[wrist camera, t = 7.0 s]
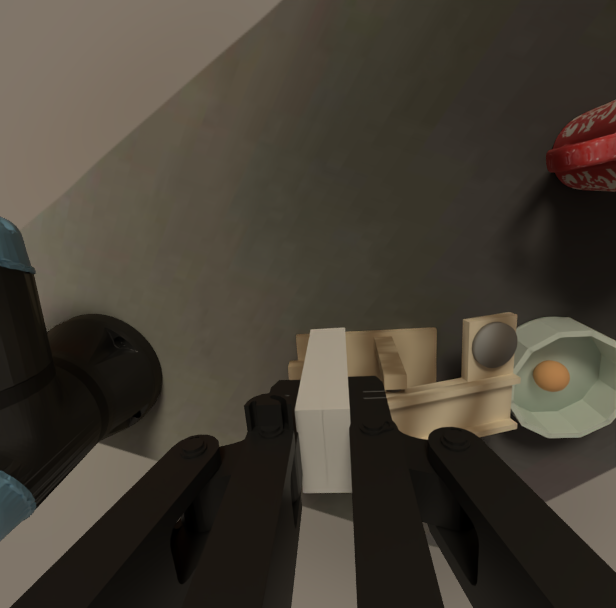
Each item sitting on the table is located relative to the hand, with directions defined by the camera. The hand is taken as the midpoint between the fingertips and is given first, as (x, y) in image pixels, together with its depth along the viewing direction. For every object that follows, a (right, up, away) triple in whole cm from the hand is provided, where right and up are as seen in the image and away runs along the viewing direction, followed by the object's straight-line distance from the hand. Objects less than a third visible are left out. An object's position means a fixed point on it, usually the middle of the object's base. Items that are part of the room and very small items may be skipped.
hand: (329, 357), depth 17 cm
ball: (+26, -6, +25) cm, 36 cm away
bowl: (+26, -5, +27) cm, 38 cm away
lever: (+7, -5, +22) cm, 23 cm away
